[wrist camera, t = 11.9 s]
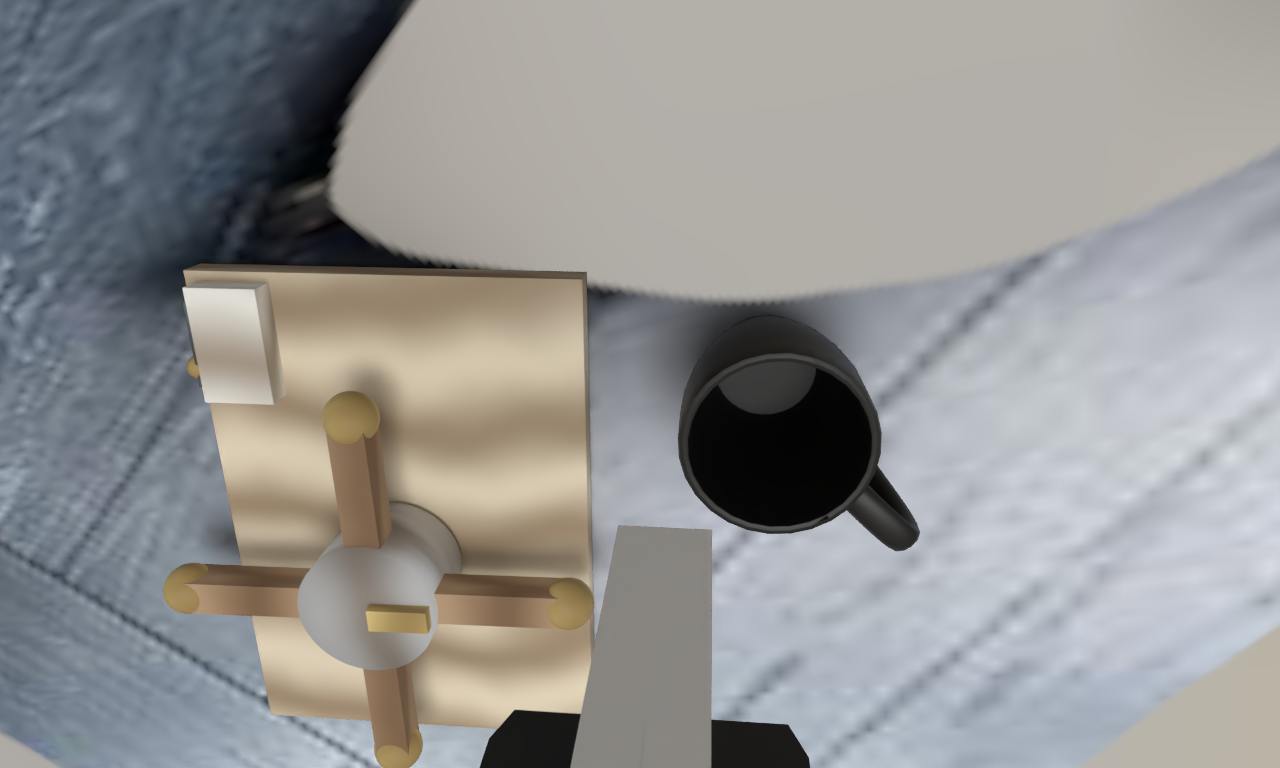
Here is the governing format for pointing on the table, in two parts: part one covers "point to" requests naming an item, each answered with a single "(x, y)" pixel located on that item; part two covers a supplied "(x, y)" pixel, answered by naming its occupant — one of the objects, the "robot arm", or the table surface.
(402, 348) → the stand
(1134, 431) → the table surface
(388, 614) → the capstan
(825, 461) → the mug
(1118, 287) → the table surface
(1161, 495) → the table surface
